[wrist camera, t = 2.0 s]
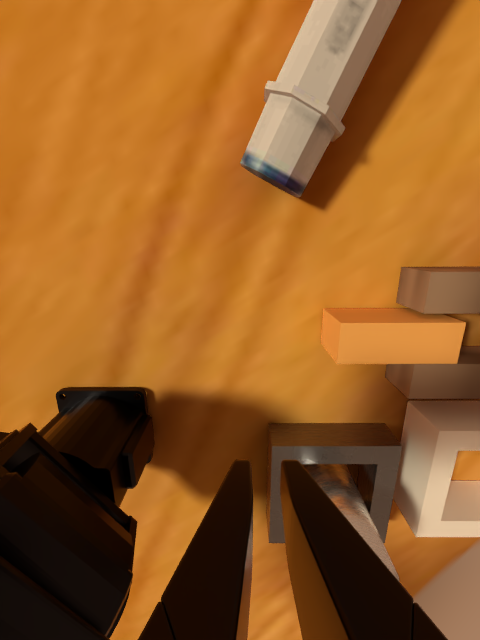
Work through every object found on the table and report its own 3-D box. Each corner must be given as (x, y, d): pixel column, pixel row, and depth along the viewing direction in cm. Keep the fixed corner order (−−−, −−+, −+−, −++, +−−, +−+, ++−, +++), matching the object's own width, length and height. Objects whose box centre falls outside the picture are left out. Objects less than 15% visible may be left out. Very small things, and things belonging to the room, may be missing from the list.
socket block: (266, 513, 24) (269, 543, 22) (268, 423, 22) (272, 446, 19) (370, 513, 24) (384, 543, 22) (384, 423, 22) (402, 446, 19)
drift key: (320, 343, 20) (336, 364, 16) (323, 308, 19) (340, 323, 16) (420, 342, 20) (457, 363, 16) (426, 308, 19) (466, 322, 16)
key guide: (385, 376, 21) (408, 398, 18) (401, 267, 19) (431, 271, 16) (510, 376, 21) (554, 398, 18) (541, 266, 18) (597, 271, 16)
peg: (296, 489, 24) (323, 610, 16) (299, 450, 23) (328, 558, 15) (344, 489, 24) (393, 610, 16) (348, 450, 23) (404, 559, 15)
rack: (391, 494, 24) (415, 536, 20) (407, 400, 21) (439, 430, 18) (498, 494, 24) (540, 537, 20) (527, 400, 21) (581, 430, 18)
